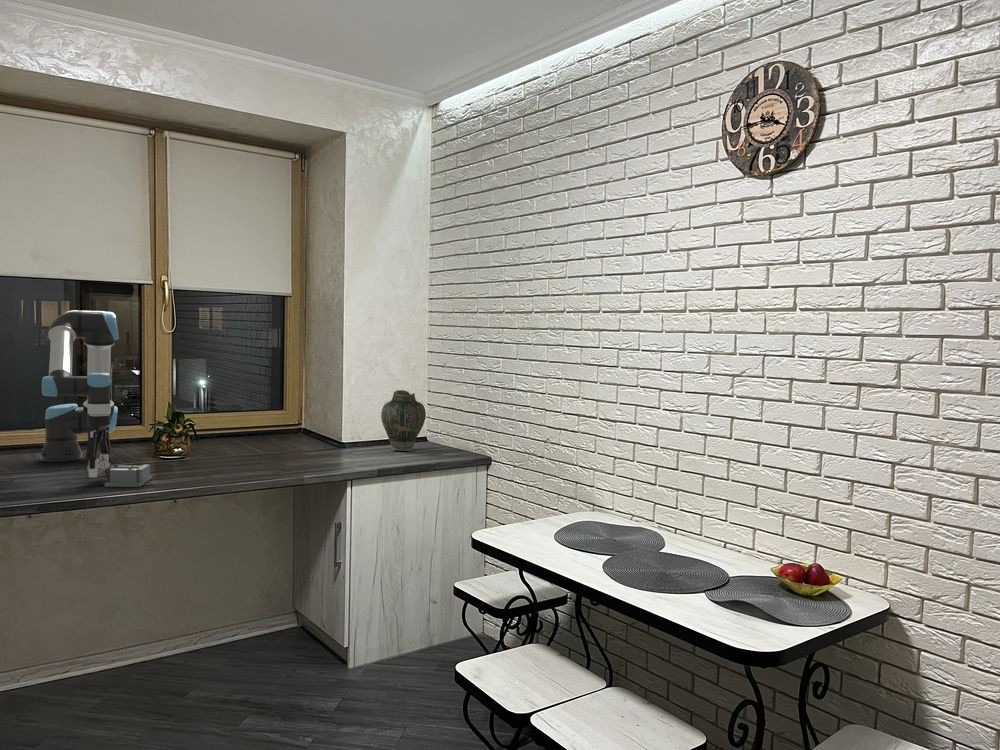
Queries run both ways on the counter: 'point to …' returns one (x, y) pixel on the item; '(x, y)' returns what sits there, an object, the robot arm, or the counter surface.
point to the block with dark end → (115, 468)
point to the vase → (403, 420)
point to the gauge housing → (129, 476)
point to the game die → (101, 466)
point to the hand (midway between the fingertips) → (98, 474)
